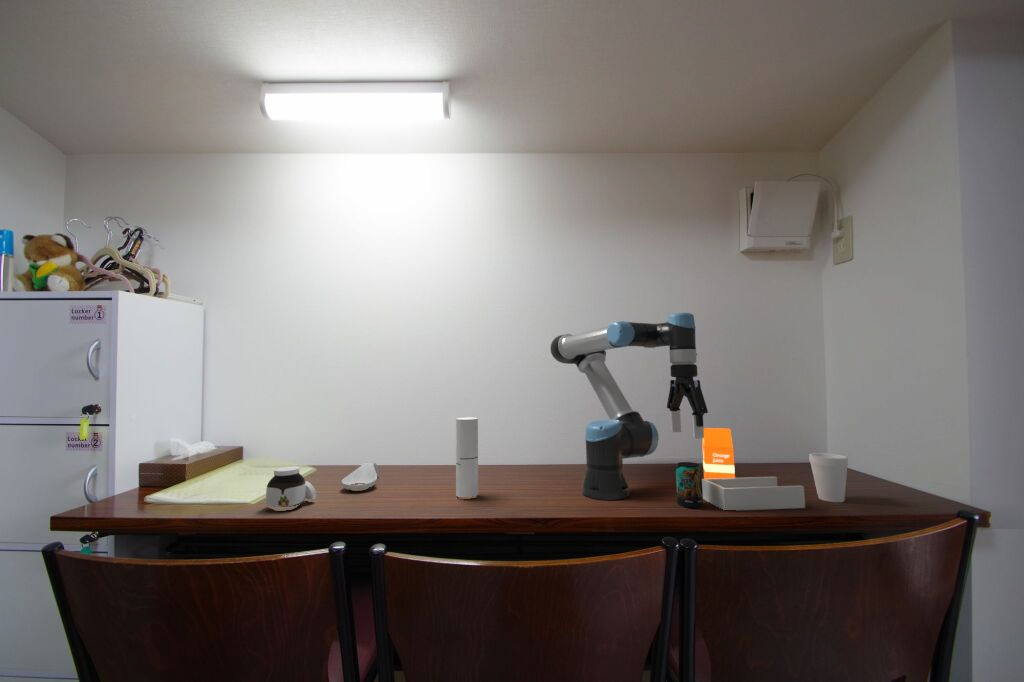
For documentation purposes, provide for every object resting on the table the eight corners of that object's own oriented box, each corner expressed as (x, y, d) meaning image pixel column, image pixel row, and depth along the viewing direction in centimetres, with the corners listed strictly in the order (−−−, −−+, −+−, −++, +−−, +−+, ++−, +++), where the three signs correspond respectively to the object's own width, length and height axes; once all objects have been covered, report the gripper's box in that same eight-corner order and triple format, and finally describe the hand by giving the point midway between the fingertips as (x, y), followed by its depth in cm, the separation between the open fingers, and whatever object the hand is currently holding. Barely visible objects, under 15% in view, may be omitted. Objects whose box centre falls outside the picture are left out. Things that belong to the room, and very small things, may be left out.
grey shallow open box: (724, 510, 118) (723, 489, 118) (702, 498, 130) (701, 478, 130) (805, 507, 120) (803, 486, 120) (775, 496, 131) (774, 476, 132)
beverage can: (693, 510, 118) (691, 467, 119) (672, 504, 124) (670, 463, 125) (708, 506, 122) (706, 464, 123) (686, 500, 128) (684, 460, 129)
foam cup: (841, 496, 131) (838, 453, 132) (857, 504, 122) (853, 459, 123) (806, 494, 133) (804, 452, 134) (819, 502, 124) (816, 457, 125)
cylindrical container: (472, 500, 131) (472, 419, 133) (452, 498, 133) (452, 419, 135) (481, 494, 138) (481, 417, 140) (462, 492, 140) (461, 417, 142)
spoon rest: (372, 494, 140) (372, 472, 141) (336, 495, 140) (336, 473, 140) (387, 477, 164) (388, 459, 165) (357, 478, 163) (357, 459, 164)
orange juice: (704, 484, 147) (701, 426, 148) (732, 486, 144) (728, 427, 145) (706, 490, 139) (703, 429, 141) (736, 492, 136) (732, 430, 138)
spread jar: (261, 512, 122) (262, 471, 123) (282, 501, 133) (284, 463, 134) (302, 512, 122) (303, 471, 123) (320, 500, 133) (321, 463, 134)
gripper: (718, 362, 115) (723, 440, 113) (676, 365, 140) (679, 429, 138) (692, 362, 114) (696, 441, 112) (654, 365, 139) (657, 430, 137)
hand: (687, 435), depth 125 cm, fingers open, 13 cm apart
